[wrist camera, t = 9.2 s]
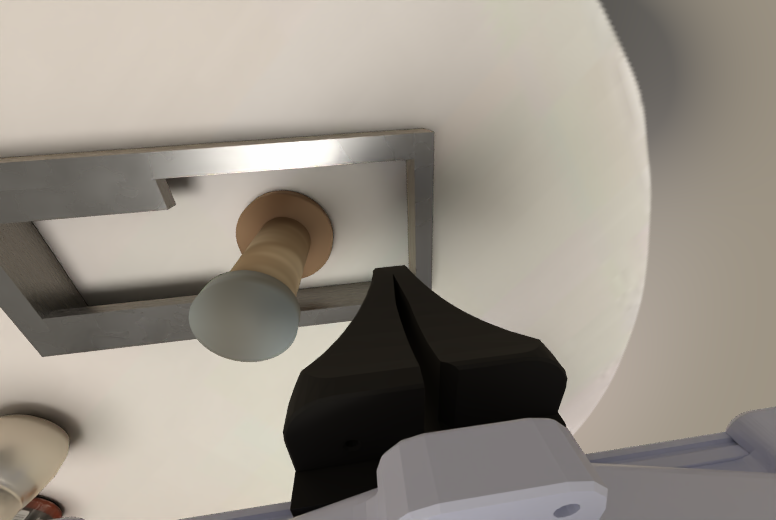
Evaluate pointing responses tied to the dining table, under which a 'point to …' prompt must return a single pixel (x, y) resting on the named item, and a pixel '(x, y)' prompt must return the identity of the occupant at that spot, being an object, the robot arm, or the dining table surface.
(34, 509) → the supplement bottle
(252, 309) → the peg
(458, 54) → the dining table surface
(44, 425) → the plastic bottle
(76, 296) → the keyhole plate
